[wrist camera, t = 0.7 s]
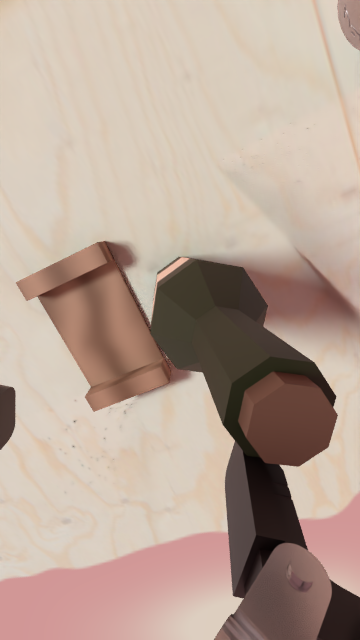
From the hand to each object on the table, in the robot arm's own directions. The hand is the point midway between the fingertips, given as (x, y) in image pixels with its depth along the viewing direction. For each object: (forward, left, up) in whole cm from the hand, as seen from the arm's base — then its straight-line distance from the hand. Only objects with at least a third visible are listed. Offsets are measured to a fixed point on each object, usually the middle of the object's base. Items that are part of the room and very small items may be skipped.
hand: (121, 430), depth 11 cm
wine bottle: (0, +2, -28) cm, 28 cm away
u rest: (+11, -3, -28) cm, 30 cm away
